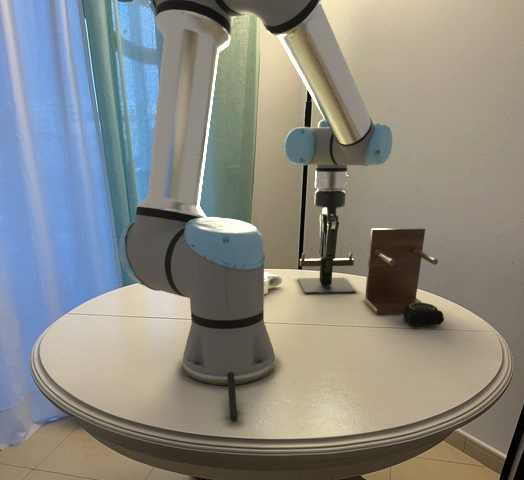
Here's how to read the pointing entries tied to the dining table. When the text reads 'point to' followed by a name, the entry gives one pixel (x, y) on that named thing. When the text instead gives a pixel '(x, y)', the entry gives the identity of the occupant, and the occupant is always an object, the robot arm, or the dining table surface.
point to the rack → (394, 268)
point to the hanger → (319, 262)
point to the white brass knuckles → (271, 281)
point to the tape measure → (422, 314)
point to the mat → (325, 286)
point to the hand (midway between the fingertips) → (325, 283)
